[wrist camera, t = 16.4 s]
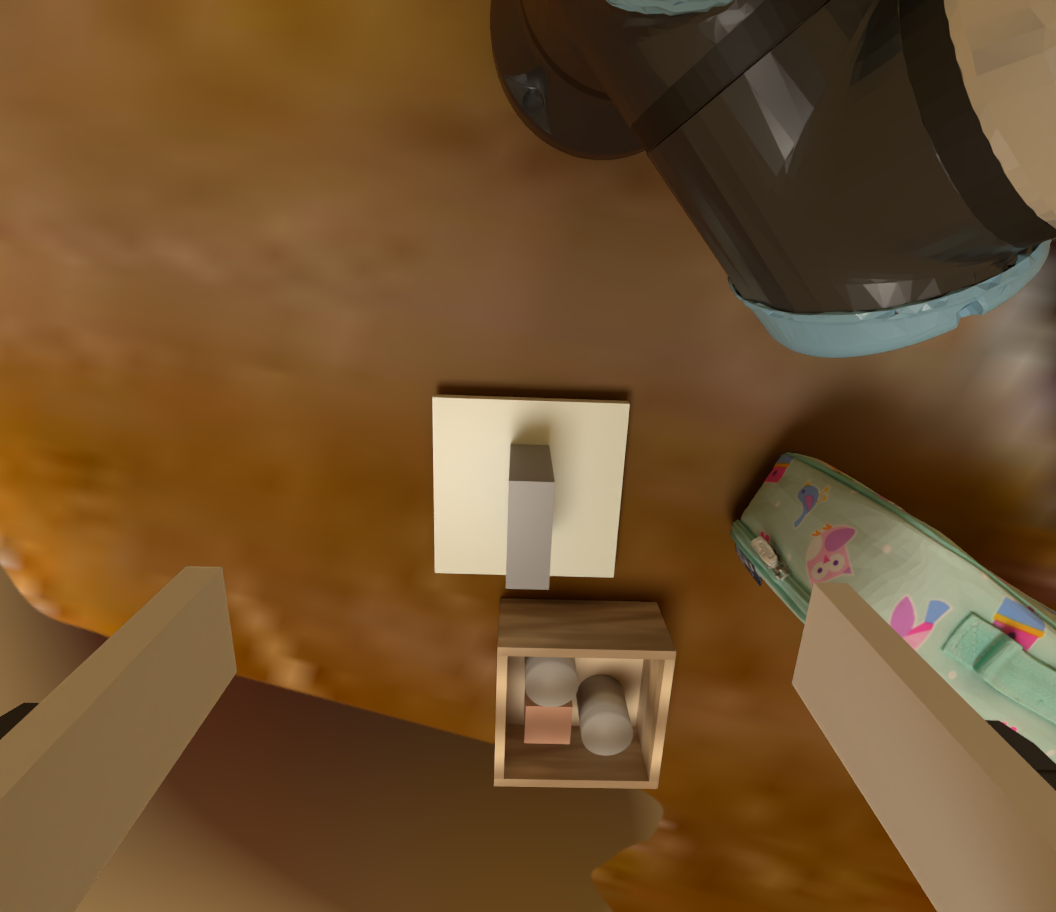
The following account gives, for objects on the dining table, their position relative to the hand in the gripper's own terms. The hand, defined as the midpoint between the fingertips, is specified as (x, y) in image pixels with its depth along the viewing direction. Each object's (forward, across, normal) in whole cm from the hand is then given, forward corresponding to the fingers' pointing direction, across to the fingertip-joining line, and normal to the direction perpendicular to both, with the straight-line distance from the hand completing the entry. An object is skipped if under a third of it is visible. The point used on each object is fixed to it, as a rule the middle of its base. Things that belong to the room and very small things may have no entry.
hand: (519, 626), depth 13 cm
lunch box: (+35, +29, -15) cm, 48 cm away
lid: (+35, +1, -10) cm, 36 cm away
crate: (+35, +6, -28) cm, 45 cm away
